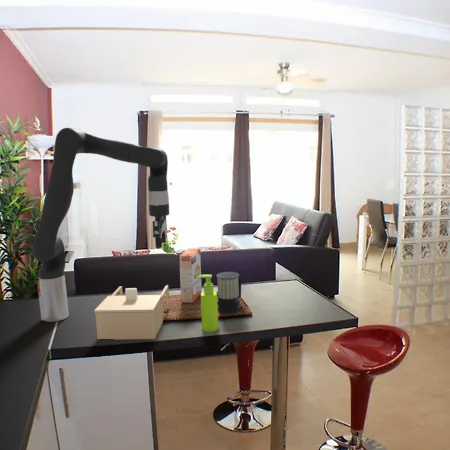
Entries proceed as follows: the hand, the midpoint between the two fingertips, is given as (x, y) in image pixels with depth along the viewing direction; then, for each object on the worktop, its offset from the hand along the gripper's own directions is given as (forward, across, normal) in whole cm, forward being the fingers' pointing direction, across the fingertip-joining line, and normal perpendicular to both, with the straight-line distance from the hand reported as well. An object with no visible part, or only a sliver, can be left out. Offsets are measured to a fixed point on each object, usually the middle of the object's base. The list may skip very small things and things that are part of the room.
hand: (161, 245), depth 150 cm
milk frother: (+29, -8, +22) cm, 37 cm away
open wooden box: (+29, +6, -10) cm, 31 cm away
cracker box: (+29, -20, +8) cm, 36 cm away
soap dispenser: (+29, +12, +18) cm, 36 cm away
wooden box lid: (+19, +12, -10) cm, 25 cm away
